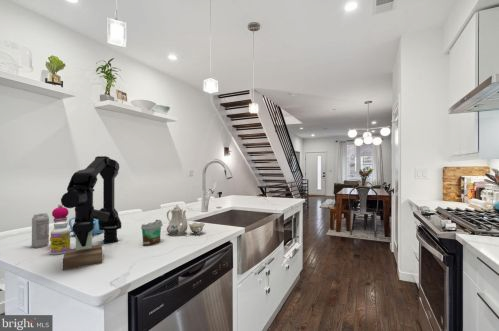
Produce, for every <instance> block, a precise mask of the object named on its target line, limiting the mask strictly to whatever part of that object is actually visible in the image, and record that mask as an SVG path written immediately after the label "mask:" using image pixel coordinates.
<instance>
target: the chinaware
mask: <svg viewBox="0 0 499 331" xmlns="http://www.w3.org/2000/svg"><path fill="white" fill-rule="evenodd" d="M183 210H184V208H181V207H180V206H179V204H176V205H175V206H174V207H173V208H172V209H170V210H168V211H167V212H166V218H167V221H169V222H168V225H167V227H166V231H167V233H168V235H169V236H172V237H179V236H183V235H185V234H186V231H187V230H188V226H189V229H190V232H191V233H193V235H196V236H197V235H200V234H201V232H202V231H203V230H204V226H205V223H203V222H200V223H198V222H193V223H191V224H190V223H189V224H188V219H187V216H186V211H187V210H184V211H183ZM169 213H170V214H171V219H170V218H169Z"/></svg>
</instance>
